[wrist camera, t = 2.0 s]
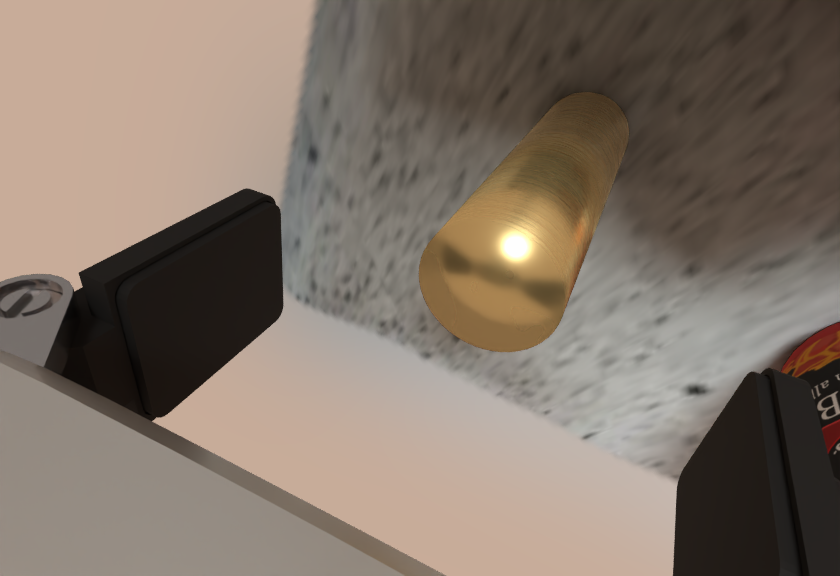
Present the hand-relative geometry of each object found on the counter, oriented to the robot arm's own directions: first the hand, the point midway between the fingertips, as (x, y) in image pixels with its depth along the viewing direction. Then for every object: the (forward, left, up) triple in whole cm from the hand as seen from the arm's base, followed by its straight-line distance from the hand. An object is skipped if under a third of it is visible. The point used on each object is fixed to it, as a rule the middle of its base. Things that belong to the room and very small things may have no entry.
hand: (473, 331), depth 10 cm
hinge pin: (-1, 0, -11) cm, 11 cm away
